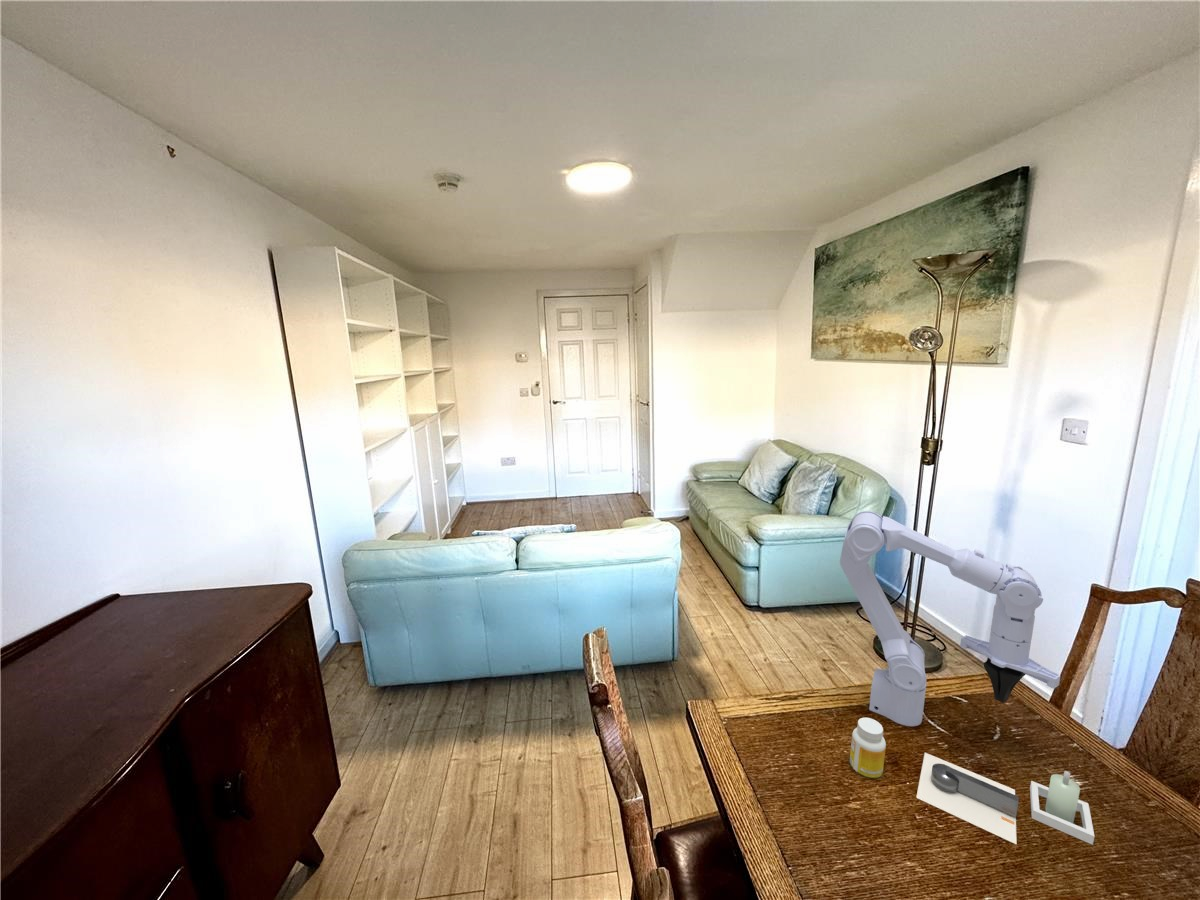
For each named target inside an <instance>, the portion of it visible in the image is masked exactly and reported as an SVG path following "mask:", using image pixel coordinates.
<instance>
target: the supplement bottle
mask: <svg viewBox="0 0 1200 900" xmlns="http://www.w3.org/2000/svg"><path fill="white" fill-rule="evenodd" d="M856 726H857V727H855V728H853V731H852V735H851V741H850V742H851V745H850V755H849V764H850V767H851V768H852V769H853V770H855V772H856V773H858V774H859V775H861V776H863V777H865V778H869V779H878V778H880V777H882V776H883V773H884V764H885V757H886V748H887V744H886V740H885V738H884V727H883V725H882V724H881V723H880V722H879V721H877V720H875V719H874V718H870V717H861V718H859V719H858V721H857V725H856Z"/></svg>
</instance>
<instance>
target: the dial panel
mask: <svg viewBox="0 0 1200 900" xmlns="http://www.w3.org/2000/svg"><path fill="white" fill-rule="evenodd" d="M934 764H944V765H947V766H949V767H951V768H953V769H955V770H958V771H960V772H962V773H965V774H967V775H969V776H972V777H974V778H976V779H979V780H981V781H983V782H986V783H988V784H990V785H993V786H995V787H997V788H1000V789H1002V790H1004V791H1007V792H1009V793H1011V794H1014V795H1016V789H1013V788H1011V787H1009V786H1008V785H1004V784H1001V783H999V782H998V781H994V780H992V779H990V778H987V777H985V776H983V775H981V774H978V773H975V772H973V771H971V770H968V769H966V768H963V767H961V766H958V765H956V764H954V763H951V762H949V761H947V760H944V759H942V758H939V757H937V756H934V755H932V754H929V753H927V752H924V755H923V761H922V765H921V771H920V775H919V776H920V777H919V781H918V787H917V793H916V797H915V798H917V799H918V800H921V801H922V802H925V803H926V804H929V805H931V806H933V807H934V808H938V809H940V810H941V811H944V812H946V813H948V814H950V815H952V816H954V817H955V818H956V817H957V818H959V819H961V820H962V821H965V822H967V823H970V824H972V825H974V826H976V827H977V828H980V829H983V830H984V831H986V832H989V833H991V834H993V835H994V836H995V835H996V836H997V837H999V838H1002V839H1003V840H1005V841H1008V842H1010V843H1012V844H1014V845H1017V816H1016V817H1014V816H1012V815H1009V814H1007V813H1005V812H1003V811H1001V810H998V809H996V808H994V807H992V806H989V805H987V804H985V803H983V802H981V801H978V800H976V799H974V798H972V797H970V796H967V795H965V794H963V793H961V792H956V793H949V792H945V791H943V790H941V789H940V788H938V787H937V786H936V785H935V784H934V783H933V782H932V780H931V773H932V766H933V765H934Z"/></svg>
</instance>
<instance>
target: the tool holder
mask: <svg viewBox="0 0 1200 900" xmlns="http://www.w3.org/2000/svg"><path fill="white" fill-rule="evenodd" d="M1048 790H1049V787H1048V786H1046V785H1043V784H1041V783H1038V782H1035V781H1033V780H1031V781H1030V786H1029V794H1030V812H1031V819H1033V820H1035V821H1037V822H1039V823H1042V824H1044V825H1046V826H1049V827H1051V828H1053V829H1055V830H1058V831H1059V832H1062V833H1065V834H1066V835H1069V836H1071V837H1074V838H1076V839H1078V840H1081V841H1083V842H1085V843H1087V844H1090V845H1092V846H1093V845H1094V841H1095V838H1096V837H1095V833H1094V825H1093V822H1092V816H1091V815H1092V814H1091V809H1090V805H1089V803H1088V802H1086V801H1084V800H1082V799H1079V798H1078V803H1077V808H1076V812H1080V817H1081V824H1082V826H1080V825H1077V824H1075V823H1070V822H1068V821H1066V820H1063V819H1061V818H1058V817H1056V816H1054V815H1051V814H1049V813H1047V812H1046V811H1045V810H1042V809H1040V801H1039V796H1041V797H1042V798H1044V799H1047V795H1048Z"/></svg>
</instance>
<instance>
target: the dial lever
mask: <svg viewBox="0 0 1200 900" xmlns="http://www.w3.org/2000/svg"><path fill="white" fill-rule="evenodd" d="M931 780H932V782H933V783H934V784H935V785H936V786H937V787H938V788H940V789H941V790H943V791H945V792H949V793H956V792H961V793H963V794H965V795H967V796H970V797H972V798H974V799H976V800H978V801H981V802H983V803H985V804H987V805H989V806H992V807H994V808H996V809H998V810H1001V811H1003V812H1005V813H1007V814H1009V815H1012V816H1014V817H1016V818H1017V814H1018V807H1019V802H1020V801H1019V800H1020V799H1019V796H1018V795H1016V794H1015V795H1014V794H1011V793H1009V792H1007V791H1004V790H1002V789H1000V788H997V787H995V786H993V785H990V784H988V783H986V782H983V781H981V780H979V779H976V778H974V777H972V776H969V775H967V774H965V773H962V772H960V771H958V770H955V769H953V768H951V767H949V766H947V765H944V764H934V765H933V766H932V773H931Z"/></svg>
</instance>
